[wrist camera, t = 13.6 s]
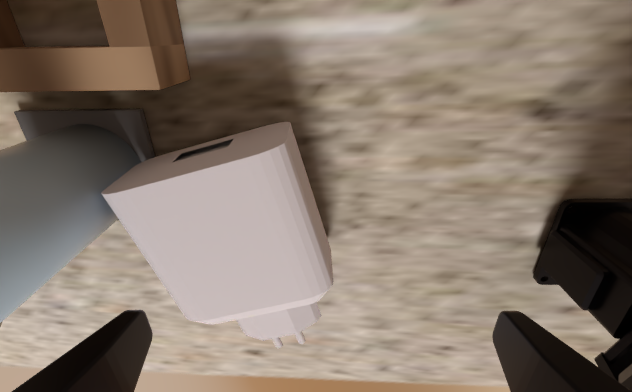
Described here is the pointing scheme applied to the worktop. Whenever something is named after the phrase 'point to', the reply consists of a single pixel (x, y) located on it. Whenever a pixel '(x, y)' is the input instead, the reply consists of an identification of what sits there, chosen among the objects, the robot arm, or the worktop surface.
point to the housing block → (101, 53)
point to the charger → (232, 231)
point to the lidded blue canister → (54, 204)
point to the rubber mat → (117, 121)
